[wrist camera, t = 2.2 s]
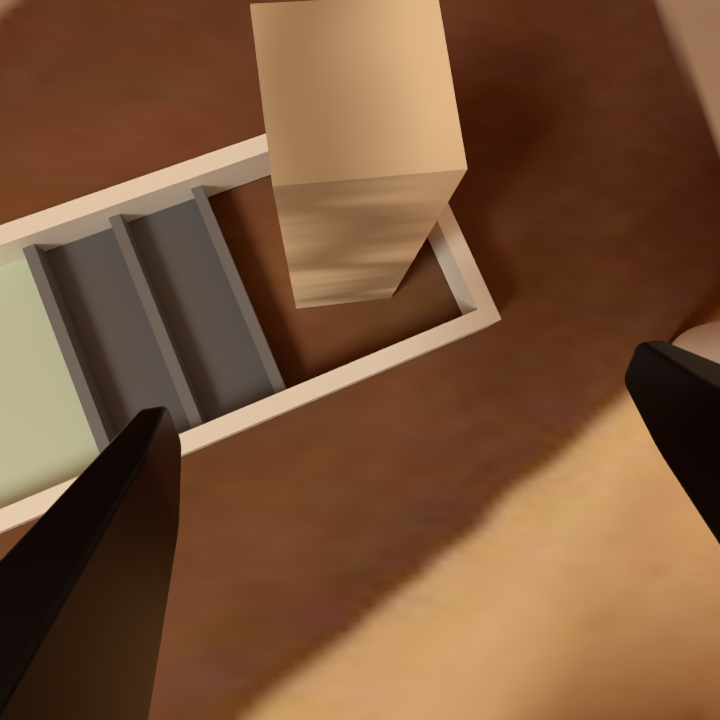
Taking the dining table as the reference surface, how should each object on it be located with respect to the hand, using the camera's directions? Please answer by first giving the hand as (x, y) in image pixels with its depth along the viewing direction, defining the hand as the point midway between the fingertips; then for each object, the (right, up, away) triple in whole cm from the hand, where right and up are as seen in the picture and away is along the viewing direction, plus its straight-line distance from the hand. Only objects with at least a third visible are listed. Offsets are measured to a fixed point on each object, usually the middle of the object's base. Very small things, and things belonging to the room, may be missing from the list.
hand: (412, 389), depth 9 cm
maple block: (-2, +5, +14) cm, 15 cm away
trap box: (-10, +2, +13) cm, 16 cm away
